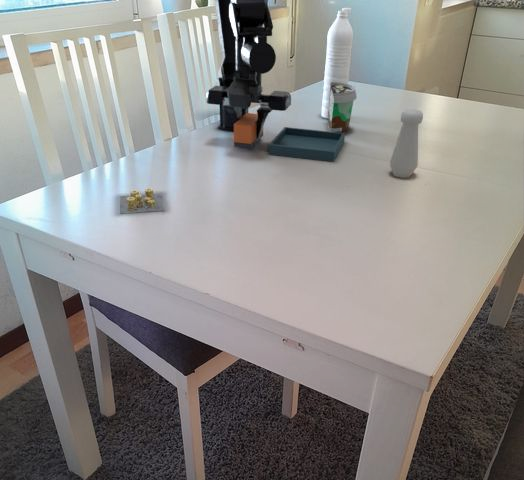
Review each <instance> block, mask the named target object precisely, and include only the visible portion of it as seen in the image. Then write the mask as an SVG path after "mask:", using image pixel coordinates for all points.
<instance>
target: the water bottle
mask: <svg viewBox="0 0 524 480" xmlns="http://www.w3.org/2000/svg"><path fill="white" fill-rule="evenodd" d="M348 14H352V7H342V8H341V10H338V11H337V14H336V18H335V20H334V21H333V22H332V23H331V26H330V27H329V29H328V31H327V41H326V55H325V67H324V78H323V91H322V101H321V105H322V106H321V117H322V118H323V119H326V120H328V112H329V99H330V85H331V82H337V83H344V84H349V80H350V72H351V71H350V70H351V62H352V61H351V60H352V59H351V58H352V51H353V43H354V42H353V41H354V29H353V27H352V26H351V23H350V21H349V19H348V16H349V15H348Z"/></svg>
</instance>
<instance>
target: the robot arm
mask: <svg viewBox="0 0 524 480" xmlns="http://www.w3.org/2000/svg"><path fill="white" fill-rule="evenodd" d="M214 6H215V13H216V14H215V15H216V21H217V28H218V29H217V30H218V37H219V44H220V55H221V64H220V66H219V68H218V71H217V78H216V81H215V85H214V86H213V87H211V88H209V89H208V90H207V92H206V96H205V97H206V104H208V105H217V106H219V125H218V126H217V129H218V130H227V131H234V124H235V123H236V122H237V121H238V120H239V119H241V118H242V117H243V116H244V115H245V114H246V113H249V108H250V107H251V105H252V103H254V104H259V108H257V109H256V114H258V119H257V130H256V133H257V138H259V137H260V134H261V131H262V128H263V129H264V125H265V122H266V120H267V118H268V116H269V114H270V113H271V112H272V111H279V112H284V111H287V109H288V108H290V106H291V105H292V94H291V93H290V92H289V91H283V90H282V91H281V90H273V91H272V92H271V93H270V94H263V86H262V77H263V75H264V74H267V73H270V71H271V70H272V69H273V67H275V64H276V60H277V54H276V51H275V48H274V47H273V46H272V45H271V44H270V43H268V37H273V29H274V24H273V20H272V15H271V11H270V8H269V6H268V2H266V0H214Z"/></svg>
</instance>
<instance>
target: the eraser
mask: <svg viewBox="0 0 524 480" xmlns="http://www.w3.org/2000/svg"><path fill="white" fill-rule="evenodd" d="M257 119H258V114H257V113H251V112H248V113H246V114H245V115H244V116H243V117H242V118H241V119H239V120H238V121H237V122H236V123H235V124H234V130H233V147H234V148H244V149H252V148H253V147H254V146H255V145H256V144H257V143H258V142H259V141H260V140H261V139H262V138H263V136H264V127H263V128H262V131H261V134H260V137H259V138H257V133H256V130H257Z"/></svg>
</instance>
